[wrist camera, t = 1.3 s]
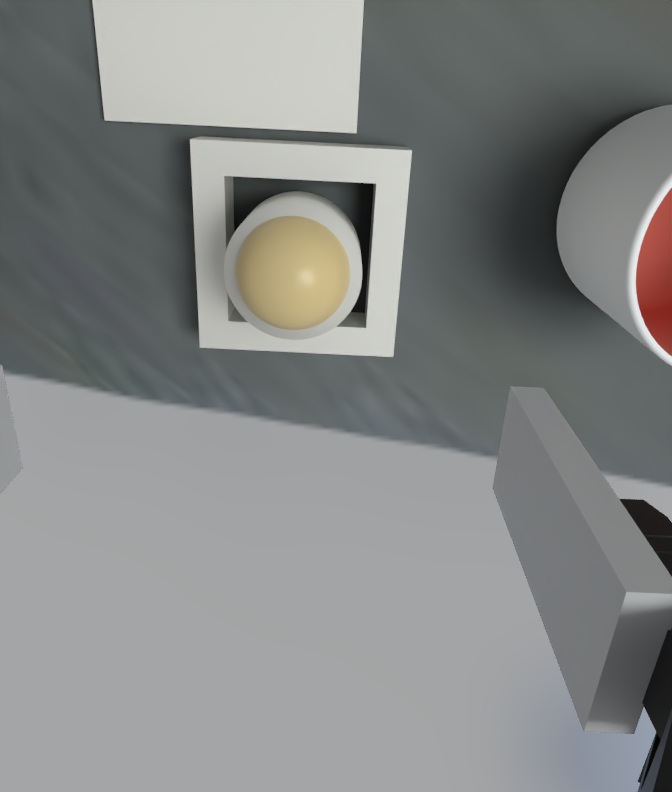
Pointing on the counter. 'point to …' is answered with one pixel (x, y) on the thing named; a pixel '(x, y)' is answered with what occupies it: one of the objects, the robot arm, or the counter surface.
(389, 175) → the dome base
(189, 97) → the pad
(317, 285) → the dome
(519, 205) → the counter surface
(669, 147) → the cup
